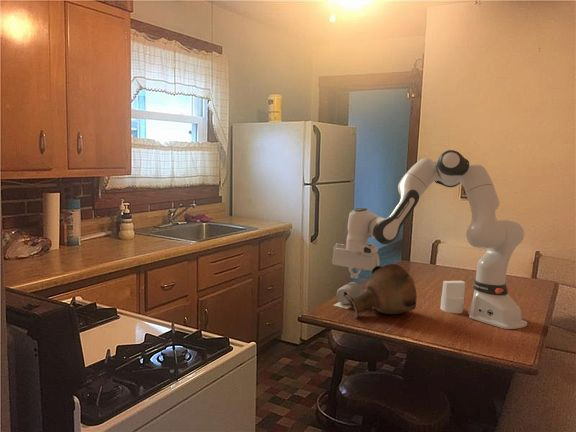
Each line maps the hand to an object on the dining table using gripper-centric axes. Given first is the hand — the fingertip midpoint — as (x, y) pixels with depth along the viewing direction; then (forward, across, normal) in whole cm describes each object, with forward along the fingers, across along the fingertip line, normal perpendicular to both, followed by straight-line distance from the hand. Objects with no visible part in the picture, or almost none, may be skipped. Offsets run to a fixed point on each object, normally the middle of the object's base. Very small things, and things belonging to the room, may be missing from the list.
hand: (354, 277), depth 215 cm
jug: (+10, +15, -11) cm, 21 cm away
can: (+6, 0, +1) cm, 6 cm away
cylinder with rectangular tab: (+10, +39, +12) cm, 42 cm away
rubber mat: (+10, 0, -8) cm, 12 cm away
